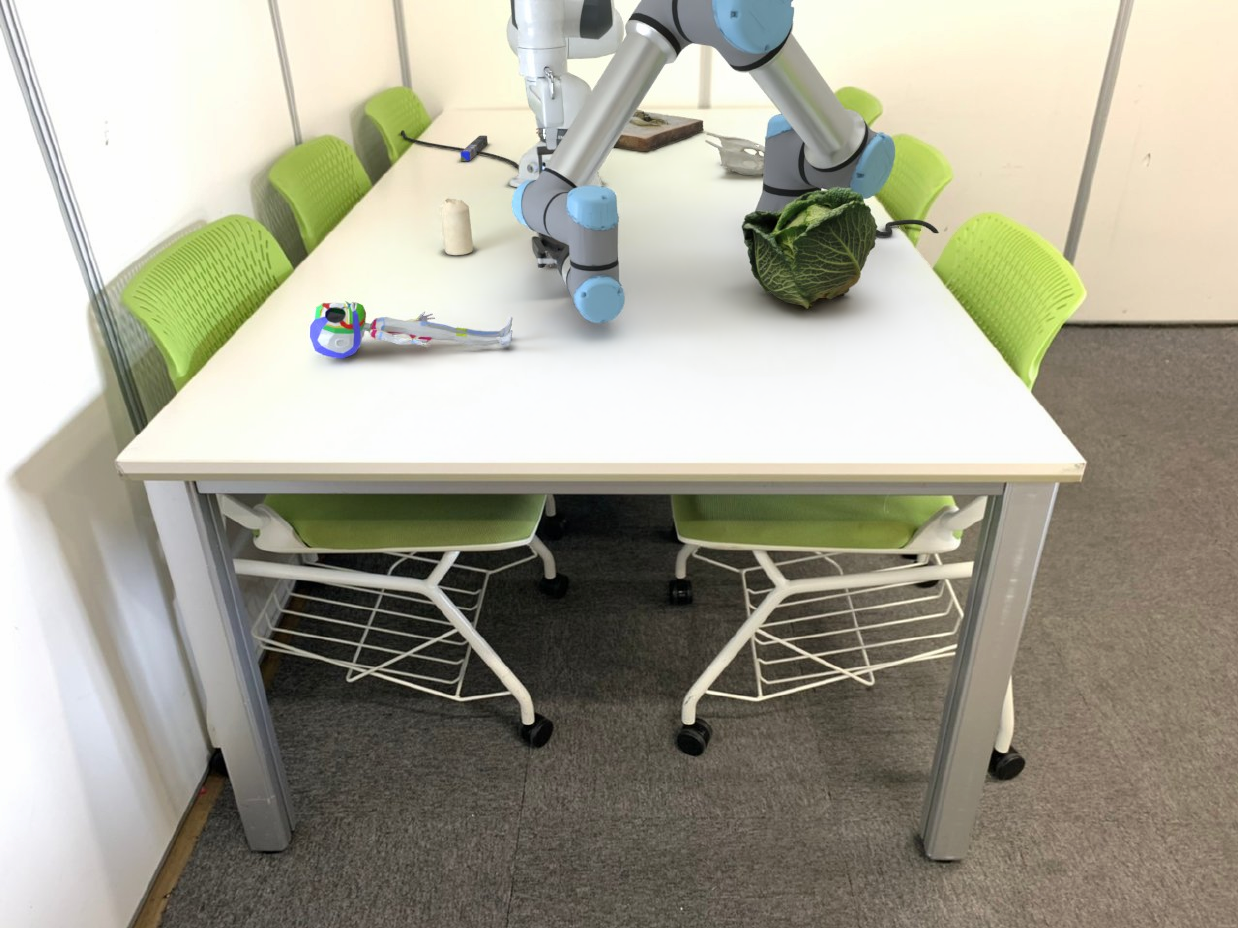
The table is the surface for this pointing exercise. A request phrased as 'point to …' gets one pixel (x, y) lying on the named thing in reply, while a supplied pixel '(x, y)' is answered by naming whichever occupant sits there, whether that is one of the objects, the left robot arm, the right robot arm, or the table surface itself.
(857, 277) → the vegetable
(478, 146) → the grey square bar
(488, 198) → the table surface
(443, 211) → the candle
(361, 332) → the toy
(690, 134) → the plaque
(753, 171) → the anatomical model
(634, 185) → the table surface
